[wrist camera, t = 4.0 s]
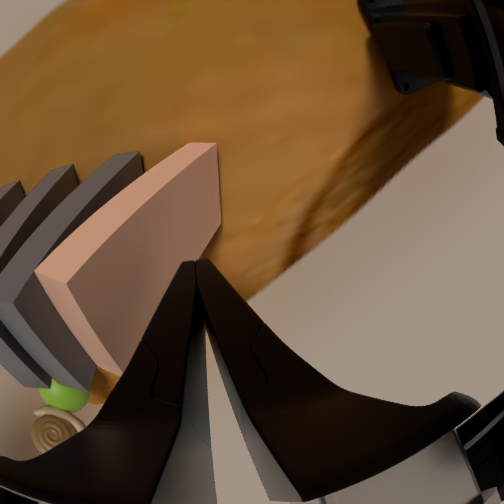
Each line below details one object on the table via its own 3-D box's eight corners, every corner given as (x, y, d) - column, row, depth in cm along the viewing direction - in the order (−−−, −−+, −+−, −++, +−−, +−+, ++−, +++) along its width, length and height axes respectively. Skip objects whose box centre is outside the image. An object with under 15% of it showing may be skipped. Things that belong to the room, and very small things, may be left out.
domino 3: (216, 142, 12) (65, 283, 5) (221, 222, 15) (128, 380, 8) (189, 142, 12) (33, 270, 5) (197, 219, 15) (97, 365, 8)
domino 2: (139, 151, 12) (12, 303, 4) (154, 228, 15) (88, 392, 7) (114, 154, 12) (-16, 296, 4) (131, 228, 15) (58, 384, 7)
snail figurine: (101, 380, 24) (101, 488, 14) (45, 366, 21) (34, 473, 11) (104, 355, 21) (102, 485, 12) (39, 338, 18) (20, 465, 9)
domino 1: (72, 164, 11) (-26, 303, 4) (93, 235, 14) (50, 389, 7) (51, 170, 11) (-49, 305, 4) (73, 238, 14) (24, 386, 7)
